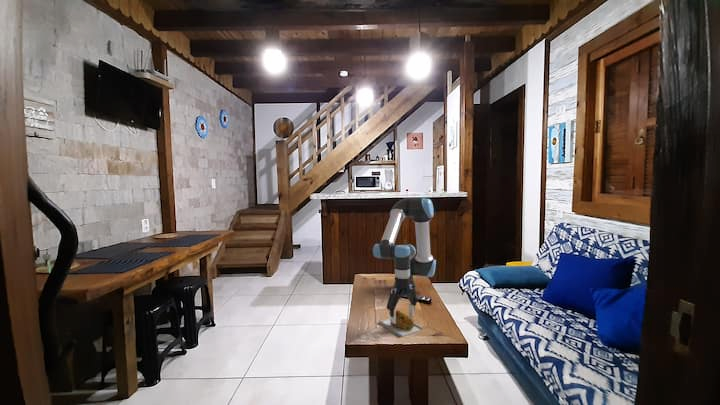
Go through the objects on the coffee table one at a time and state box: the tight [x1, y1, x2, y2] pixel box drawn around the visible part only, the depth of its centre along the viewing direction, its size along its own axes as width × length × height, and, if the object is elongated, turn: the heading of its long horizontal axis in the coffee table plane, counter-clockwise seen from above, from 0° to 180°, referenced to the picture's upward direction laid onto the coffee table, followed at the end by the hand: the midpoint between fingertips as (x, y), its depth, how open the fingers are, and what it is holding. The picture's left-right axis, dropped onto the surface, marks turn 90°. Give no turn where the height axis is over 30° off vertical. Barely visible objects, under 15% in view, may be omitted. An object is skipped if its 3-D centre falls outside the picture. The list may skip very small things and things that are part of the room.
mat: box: [378, 317, 423, 338], centre depth 155 cm, size 14×18×1 cm
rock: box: [389, 310, 415, 330], centre depth 153 cm, size 11×8×10 cm
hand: (402, 319), depth 153 cm, fingers open, 11 cm apart
